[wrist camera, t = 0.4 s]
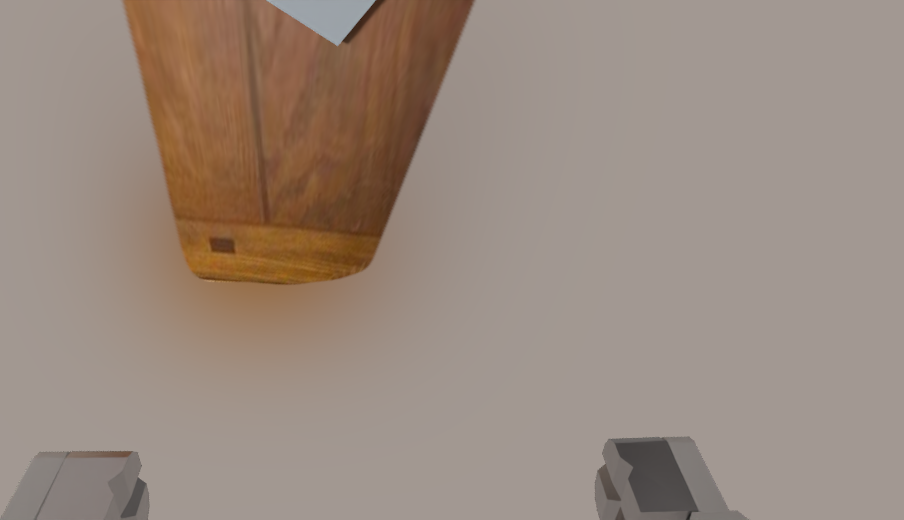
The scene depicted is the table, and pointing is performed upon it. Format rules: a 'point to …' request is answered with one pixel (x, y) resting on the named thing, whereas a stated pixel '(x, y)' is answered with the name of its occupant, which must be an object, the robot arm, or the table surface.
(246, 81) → the table surface
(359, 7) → the grey pad
